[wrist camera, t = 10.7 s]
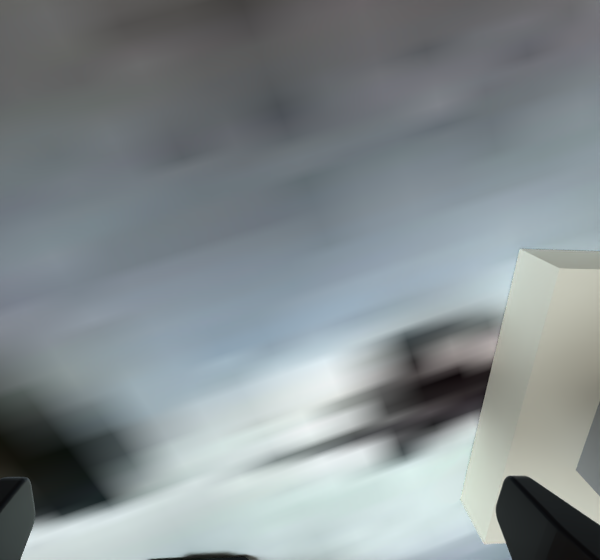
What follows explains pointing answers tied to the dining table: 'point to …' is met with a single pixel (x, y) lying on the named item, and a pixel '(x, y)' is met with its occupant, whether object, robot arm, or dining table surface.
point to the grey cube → (591, 455)
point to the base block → (540, 387)
